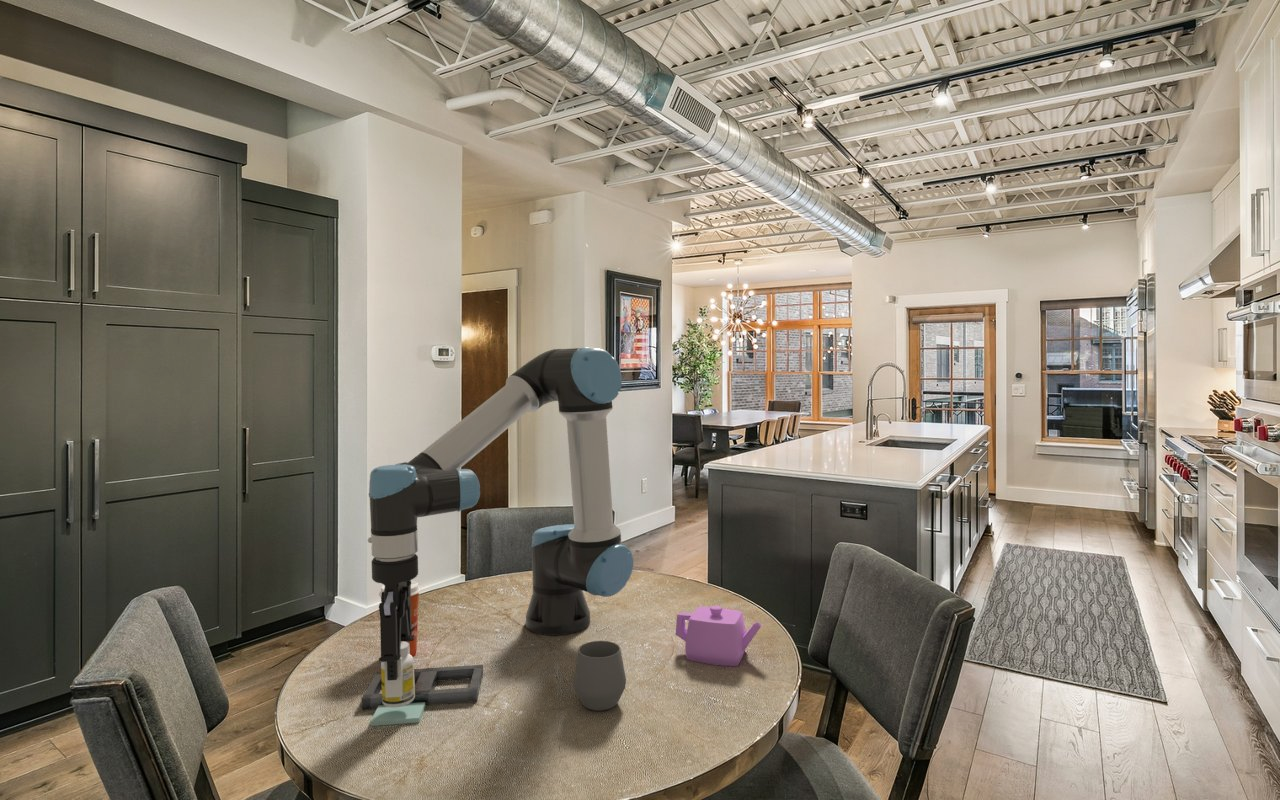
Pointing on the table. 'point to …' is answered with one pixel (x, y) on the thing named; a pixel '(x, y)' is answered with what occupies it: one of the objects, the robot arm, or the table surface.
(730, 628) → the teapot
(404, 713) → the mat
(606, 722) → the table surface
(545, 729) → the table surface
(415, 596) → the coffee cup
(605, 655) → the cup
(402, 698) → the supplement bottle
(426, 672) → the grey rectangular frame
